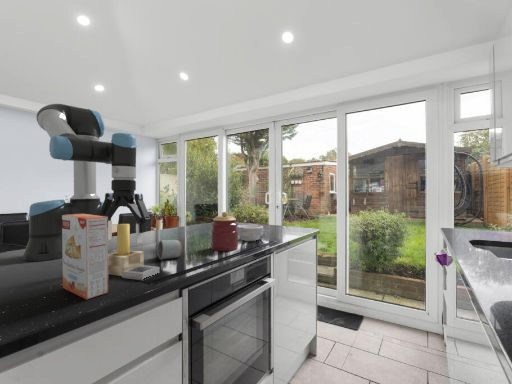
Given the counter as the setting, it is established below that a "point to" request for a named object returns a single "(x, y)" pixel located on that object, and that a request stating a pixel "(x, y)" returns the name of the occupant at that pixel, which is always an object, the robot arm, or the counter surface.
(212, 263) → the counter surface
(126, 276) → the grey mount plate
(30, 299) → the counter surface
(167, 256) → the ceramic mug
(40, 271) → the counter surface
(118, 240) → the ochre pin
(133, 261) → the beech socket block
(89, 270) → the cracker box
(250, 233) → the paper bowls
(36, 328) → the counter surface
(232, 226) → the canister
